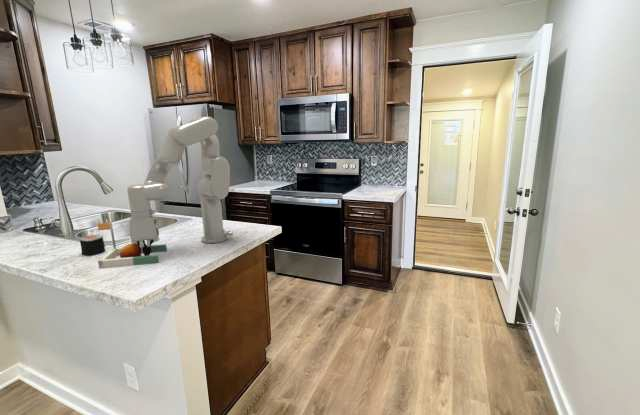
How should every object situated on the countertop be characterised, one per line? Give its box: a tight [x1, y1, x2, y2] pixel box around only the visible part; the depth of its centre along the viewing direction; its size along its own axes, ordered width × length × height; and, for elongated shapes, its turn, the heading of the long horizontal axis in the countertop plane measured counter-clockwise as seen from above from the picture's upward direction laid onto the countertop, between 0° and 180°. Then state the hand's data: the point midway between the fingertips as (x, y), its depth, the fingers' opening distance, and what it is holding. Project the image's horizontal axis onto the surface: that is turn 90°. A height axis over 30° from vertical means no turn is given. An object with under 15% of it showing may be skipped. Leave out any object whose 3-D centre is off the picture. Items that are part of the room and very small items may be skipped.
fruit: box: [119, 243, 142, 258], centre depth 129 cm, size 8×8×8 cm
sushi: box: [79, 234, 106, 257], centre depth 137 cm, size 8×8×8 cm
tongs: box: [97, 222, 168, 269], centre depth 128 cm, size 26×15×15 cm, turn 103°
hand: (147, 254), depth 131 cm, fingers closed
